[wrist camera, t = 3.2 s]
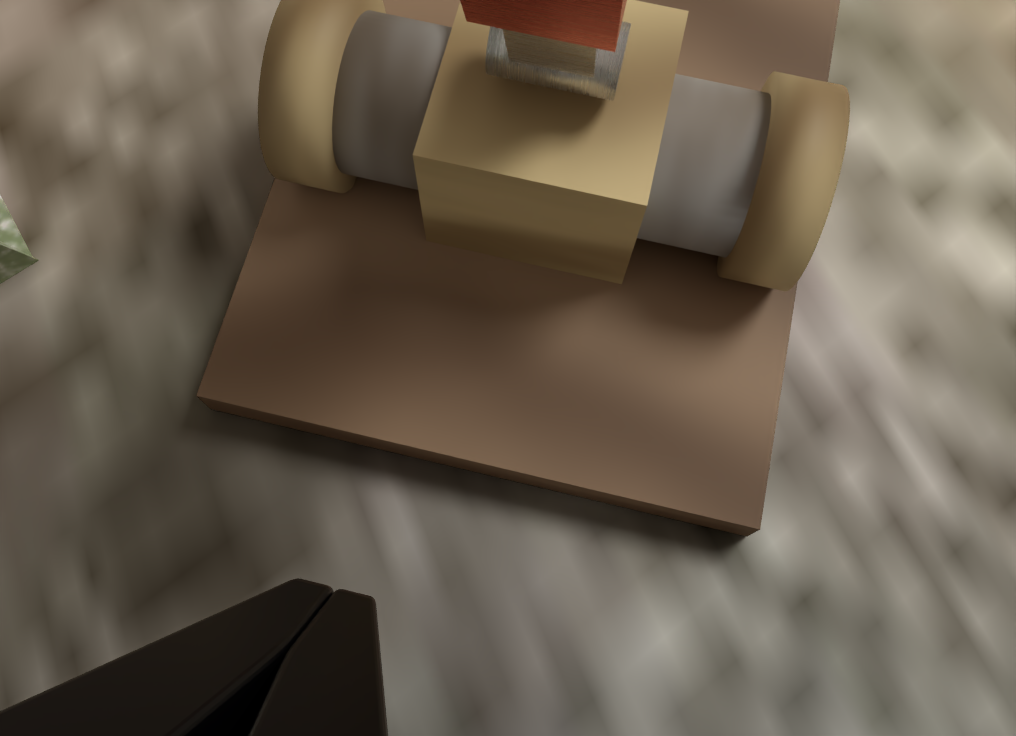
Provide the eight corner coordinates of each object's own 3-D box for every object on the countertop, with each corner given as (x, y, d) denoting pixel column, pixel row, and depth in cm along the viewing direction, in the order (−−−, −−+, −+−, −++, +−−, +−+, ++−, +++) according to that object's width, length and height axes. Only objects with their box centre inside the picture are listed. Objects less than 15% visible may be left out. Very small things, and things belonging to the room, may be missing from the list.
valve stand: (747, 536, 23) (823, 493, 18) (210, 408, 24) (127, 330, 18) (827, 18, 28) (906, -140, 23) (380, -72, 29) (353, -245, 23)
